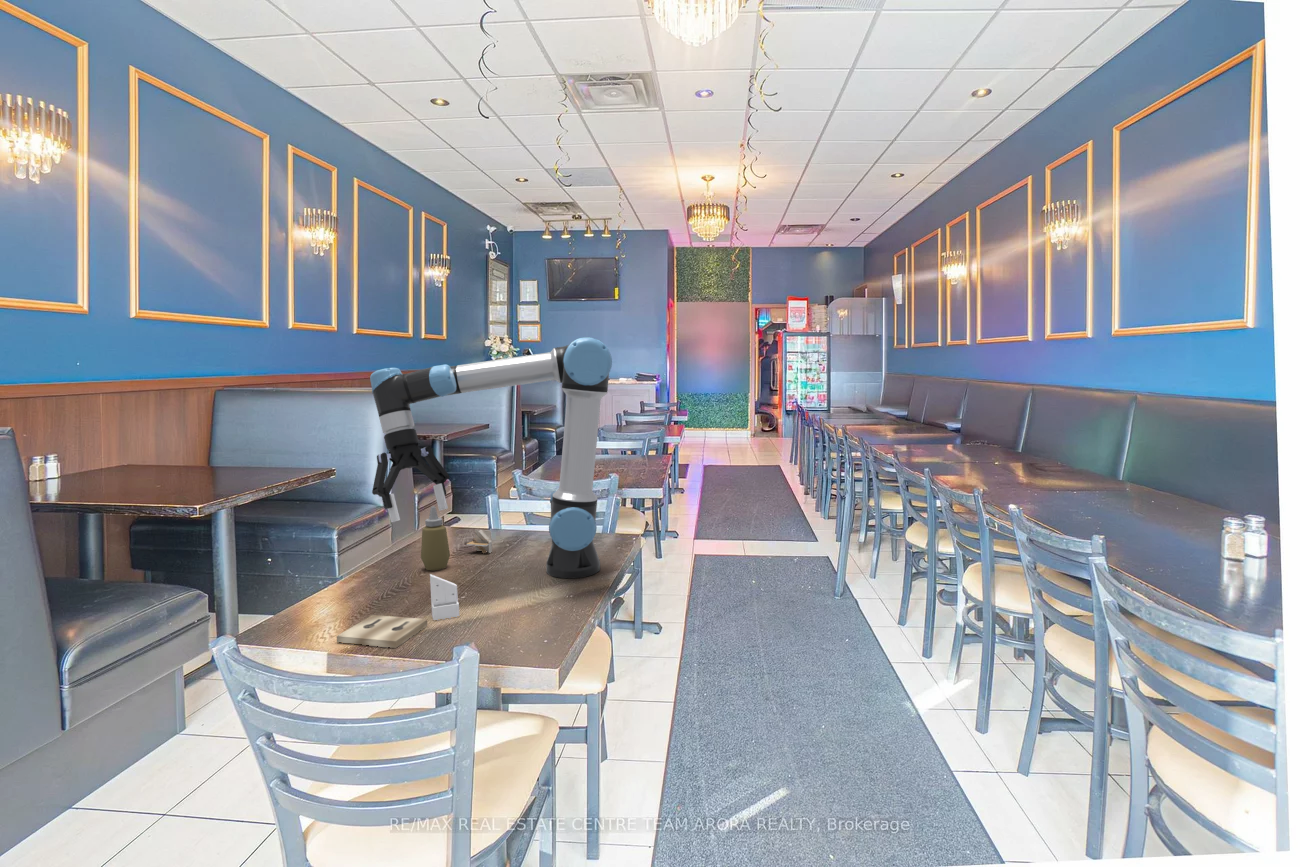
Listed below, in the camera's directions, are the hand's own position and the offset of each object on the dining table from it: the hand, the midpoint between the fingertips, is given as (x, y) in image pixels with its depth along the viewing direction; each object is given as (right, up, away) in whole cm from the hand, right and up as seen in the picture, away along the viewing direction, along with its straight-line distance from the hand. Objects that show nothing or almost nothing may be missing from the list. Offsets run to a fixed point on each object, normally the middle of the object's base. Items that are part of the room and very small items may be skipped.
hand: (420, 515), depth 160 cm
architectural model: (+4, -18, +45) cm, 49 cm away
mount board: (-2, -24, -17) cm, 29 cm away
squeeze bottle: (-6, -19, +30) cm, 36 cm away
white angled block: (+8, -23, -7) cm, 25 cm away
